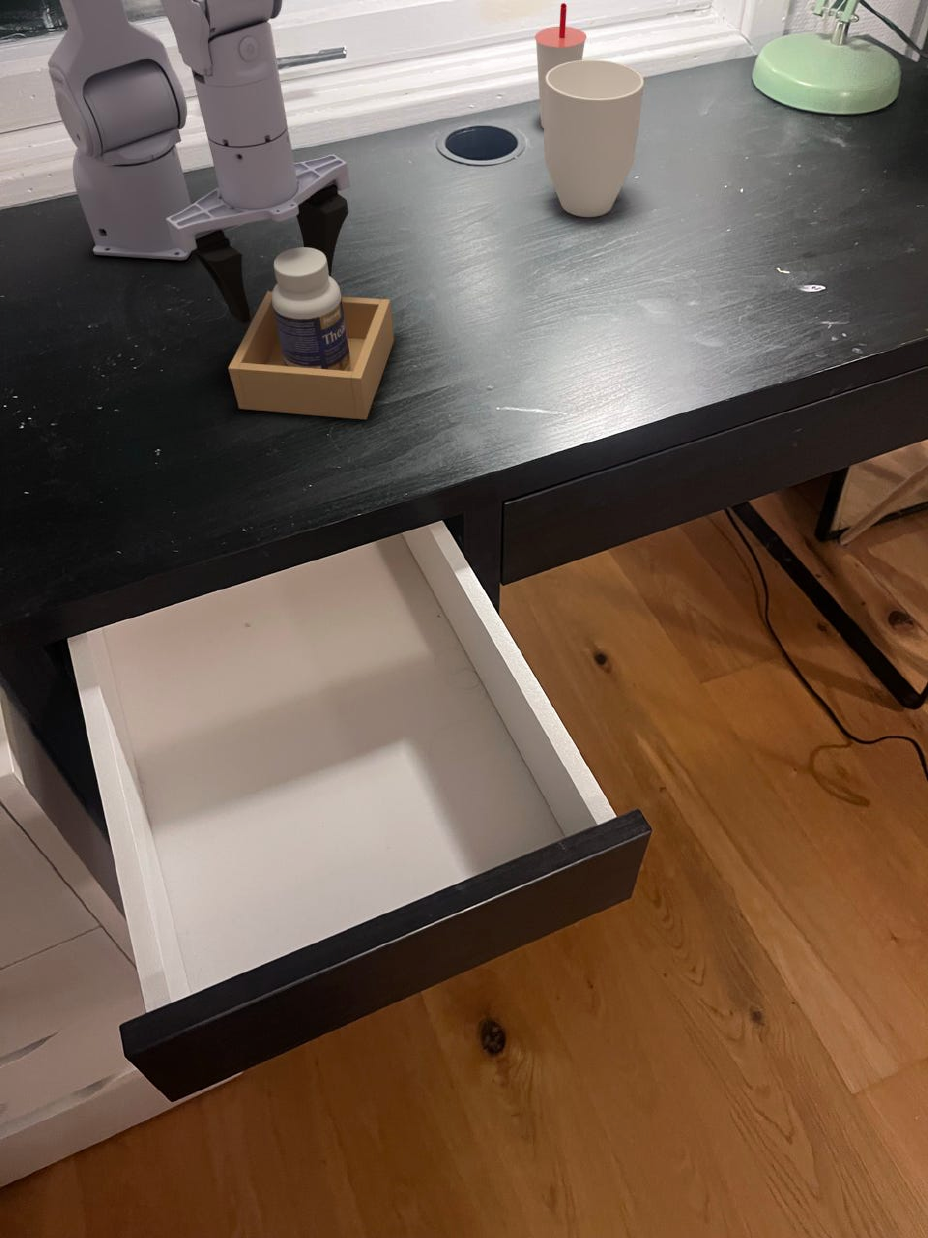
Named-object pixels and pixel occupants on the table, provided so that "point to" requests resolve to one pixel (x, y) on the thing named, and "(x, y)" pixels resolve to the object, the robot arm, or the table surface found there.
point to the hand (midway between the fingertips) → (281, 299)
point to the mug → (591, 132)
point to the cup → (556, 51)
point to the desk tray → (308, 389)
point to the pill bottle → (309, 311)
